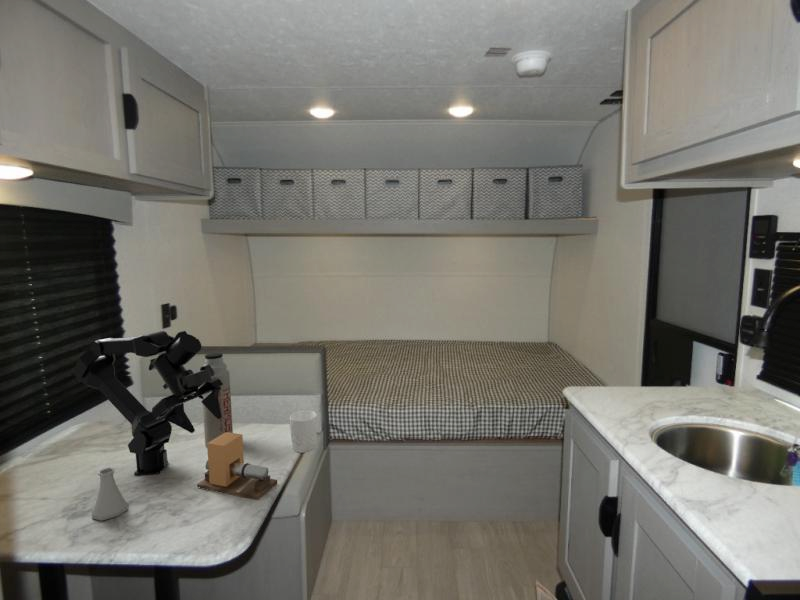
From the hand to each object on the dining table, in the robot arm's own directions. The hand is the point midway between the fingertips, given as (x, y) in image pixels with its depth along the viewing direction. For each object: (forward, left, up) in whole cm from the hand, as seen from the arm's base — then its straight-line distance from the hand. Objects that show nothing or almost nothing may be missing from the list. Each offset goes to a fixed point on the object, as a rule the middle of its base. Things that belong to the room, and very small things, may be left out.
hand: (207, 425), depth 117 cm
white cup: (+22, +17, -15) cm, 32 cm away
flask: (-19, -11, -16) cm, 27 cm away
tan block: (+4, -1, -14) cm, 15 cm away
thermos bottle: (-4, +23, -15) cm, 28 cm away
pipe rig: (+7, -3, -15) cm, 17 cm away
